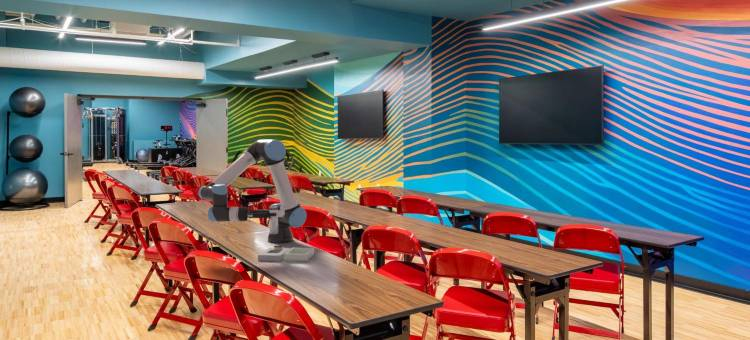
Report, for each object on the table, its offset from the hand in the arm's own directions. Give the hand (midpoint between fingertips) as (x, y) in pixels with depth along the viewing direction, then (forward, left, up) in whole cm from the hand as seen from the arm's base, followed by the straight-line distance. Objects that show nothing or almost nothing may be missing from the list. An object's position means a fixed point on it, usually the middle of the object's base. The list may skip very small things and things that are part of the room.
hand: (283, 213), depth 257 cm
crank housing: (+1, -5, -23) cm, 24 cm away
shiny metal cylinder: (+1, -5, -11) cm, 12 cm away
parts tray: (+2, +9, -23) cm, 25 cm away
